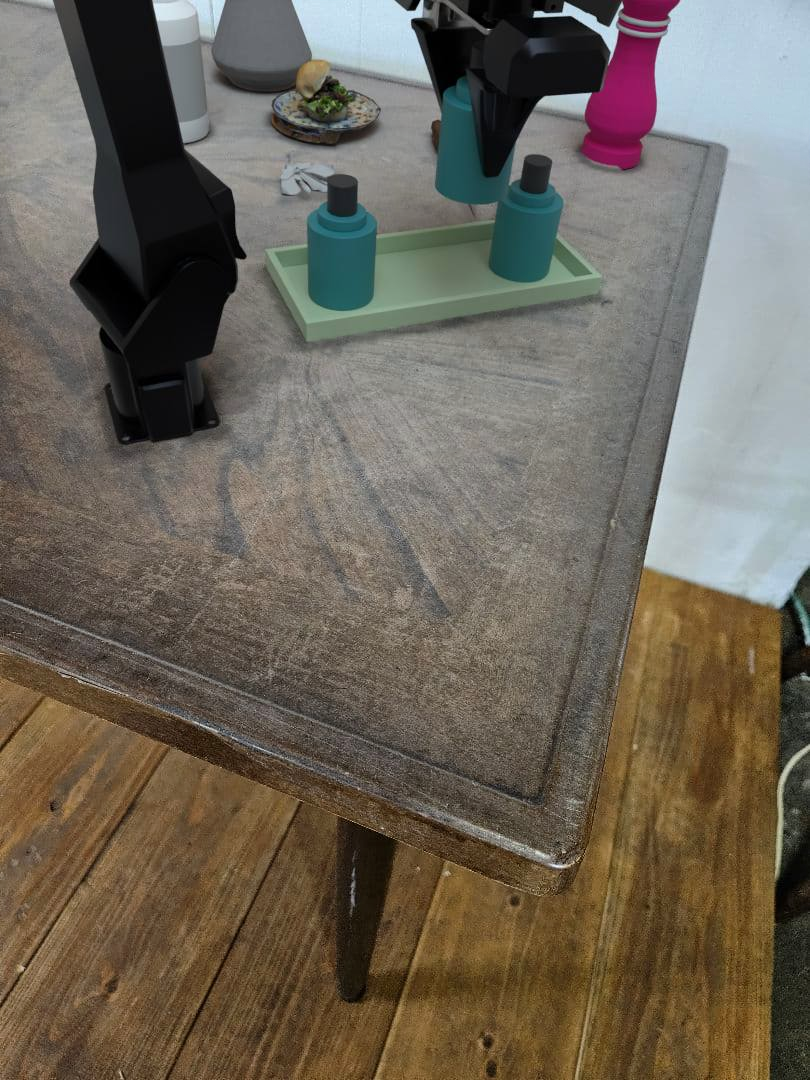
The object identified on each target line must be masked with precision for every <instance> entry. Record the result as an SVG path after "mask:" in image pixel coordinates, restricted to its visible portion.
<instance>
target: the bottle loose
mask: <svg viewBox="0 0 810 1080" xmlns="http://www.w3.org/2000/svg"><path fill="white" fill-rule="evenodd" d="M484 46H485V41H478V42H475V43H473V44H472V49H471V58H470V67H469V68H476V67H484V62H483V54H484ZM440 114H441V113H440ZM440 121H441V125H440V135H439V146H438V150H437V158H436V168H435V177H434V178H435V179H434V187H435V189H436V191H437V192H438V193H439V194H440V195H441V196H443V197H445V198H446V199H449V200H450V201H454V202H457V203H461V204H466V205H468V204H475V205H476V206H479V205H480V206H481V205H491V204H494V203H498V201H500V200H502V199H504V198H505V197H506V195H507V193H508V188H509V186H510V181H511V174H512V168H513V163H514V157H515V152H516V151H515V150H516V143H517V142H516V143H515V145H514V147H513V149H512V151H511V153H510V155H509V157H508V159H507V161H506V163H505V165H504V167H503V169H502V171H501V173H500V175H499V176H497V177H491V178H486V177H484V176H483V174H482V170H481V165H480V159H479V154H478V148H477V141H476V134H475V127H474V121H473V114H472V107H471V101H470V94H469V88H468V81H467V76H463V77H461V78H459V79H458V81H457V85H454V86H451V87H449V88H448V89H446V90H445V92H444V94H443V103H442V114H441V115H440Z"/></svg>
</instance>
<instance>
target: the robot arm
mask: <svg viewBox="0 0 810 1080" xmlns="http://www.w3.org/2000/svg"><path fill="white" fill-rule="evenodd" d="M394 1H395V2H396V4H398V5H399V6H401V7H402V8H403V9H404V10H405V11H407V12H416V10H417V9H418V7H419V5H420V3H421V1H422V0H394ZM622 1H623V0H423V1H422V16H421V17H413V18H411V19H410V26H411V30H413V32H414V33H415V36H416V40H417V42H418V46H419V48H420V51H421V54H422V57H423V60H424V63H425V66H426V69H427V72H428V75H429V78H430V81H431V84H432V88H433V91H434V94H435V97H436V101H437V104H438V107H439V111H440V114H442V103H443V94H444V92H445V90H446V89H448V88H449V87H451V86H454V85H457V81H458V79H459V78H461V77H463V76H467V81H468V88H469V94H470V101H471V107H472V114H473V121H474V127H475V134H476V141H477V148H478V154H479V159H480V165H481V170H482V174H483V176H484V177H486V178H491V177H497V176H499V175H500V173H501V171H502V169H503V167H504V165H505V163H506V161H507V159H508V157H509V155H510V153H511V151H512V149H513V147H514V145H515V143H517V141H518V139H519V137H520V134H521V132H522V131H523V129H524V127H525V125H526V123H527V121H528V120H529V118H530V116H531V115H532V113H533V111H534V109H535V108H536V106H537V105H538V103H539V102H540V101H541V100H542V99H544V98H545V97H553V96H567V95H583V94H592V93H596V92H600V91H601V90H602V89H603V85H604V81H605V77H606V72H607V68H608V65H609V63H610V60H611V54H612V52H611V50H610V49H609V46H608V45H607V43H606V41H605V40H604V38H603V36H602V35H601V34H600V33H599V32H597V31H596V30H594V29H593V28H591V27H589V26H588V25H586V24H585V23H583V22H582V21H580V20H578V19H577V18H575V17H574V16H572V15H560V16H559V15H558V16H555V15H554V16H536V17H535V13H536V12H542V13H544V14H563V11H564V6H565V3H566V4H568V5H571V6H572V7H574V8H576V9H579V10H580V11H582V12H584V13H585V14H589V15H591V16H593V17H595V19H596V22H597V23H599V24H600V25H602V26H605V27H607V28H610V27H611V25H612V24H613V21H614V20H615V17H616V15H617V14H618V12H619V9H620V7H621V5H622V4H623V3H622ZM52 2H53V6H54V9H55V13H56V16H57V20H58V22H59V25H60V29H61V32H62V37H63V40H64V43H65V46H66V49H67V53H68V57H69V60H70V63H71V67H72V70H73V73H74V76H75V80H76V83H77V86H78V90H79V93H80V96H81V100H82V104H83V106H84V109H85V113H86V116H87V121H88V123H89V126H90V130H91V134H92V136H93V140H94V144H95V153H96V156H95V157H96V158H95V166H94V176H93V184H92V185H93V186H92V198H93V205H94V206H93V207H94V214H95V220H96V229H97V236H98V237H97V239H96V241H95V242H94V244H93V246H91V248H90V250H89V251H88V253H87V254H86V256H85V257H84V258H83V260H82V262H81V263H80V264H79V266H78V268H77V269H76V270H75V272H74V273H73V275H72V276H71V278H70V279H69V287H70V288H71V289H72V291H73V292H74V293H75V295H76V296H77V297H78V299H79V300H80V302H81V303H82V305H83V306H84V307H85V309H86V310H87V311H89V312H90V313H91V315H92V316H93V317H94V319H95V320H96V321H97V323H98V324H99V325H100V327H99V331H98V339H99V342H100V346H101V351H102V354H103V355H102V356H103V358H104V363H105V368H106V372H107V377H108V381H109V382H108V383H106V384H104V387H103V388H104V392H105V396H106V400H107V401H106V402H107V405H108V408H109V412H110V416H111V420H112V424H113V428H114V432H115V435H116V439H117V442H118V443H119V444H120V445H122V446H123V445H124V446H126V445H132V444H137V443H143V442H148V441H157V440H164V439H168V438H174V437H178V436H184V435H189V434H192V433H194V432H200V431H205V430H210V429H215V428H218V427H219V426H220V425H221V420H220V417H219V414H218V412H217V409H216V406H215V404H214V402H213V399H212V396H211V393H210V391H209V389H208V386H207V383H206V380H205V377H204V376H203V373H202V367H201V360H200V359H201V358H205V357H208V356H210V355H212V354H213V351H214V348H215V344H216V340H217V336H218V332H219V329H220V323H221V320H222V317H223V312H224V309H225V305H226V303H227V301H228V299H229V298H230V296H231V295H234V294H235V293H236V291H237V288H238V283H239V266H238V262H237V260H242V261H244V260H246V259H247V257H248V255H247V253H246V251H245V250H244V248H243V247H242V245H241V244H240V240H239V237H238V234H237V225H236V203H235V197H234V194H233V190H232V188H231V187H230V186H228V185H227V184H226V183H225V182H223V180H221V179H220V178H219V177H218V176H217V175H215V174H214V173H213V172H212V171H211V170H210V169H209V168H208V167H207V166H205V165H204V163H201V161H199V160H198V159H197V158H196V157H195V156H193V155H192V154H191V153H190V152H189V151H188V150H187V149H185V145H184V144H185V143H183V140H182V135H181V130H180V126H179V121H178V117H177V112H176V107H175V103H174V98H173V93H172V89H171V84H170V80H169V75H168V70H167V66H166V61H165V56H164V52H163V47H162V43H161V38H160V33H159V29H158V24H157V19H156V15H155V10H154V6H153V1H152V0H52ZM478 41H485V46H484V54H483V62H484V67H476V68H469V67H470V58H471V49H472V44H473V43H475V42H478ZM515 146H516V145H515ZM210 422H214V423H210ZM124 438H128V439H126V440H124Z"/></svg>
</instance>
